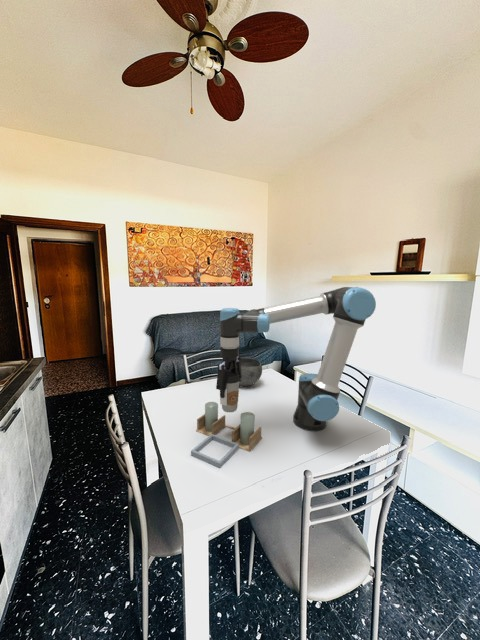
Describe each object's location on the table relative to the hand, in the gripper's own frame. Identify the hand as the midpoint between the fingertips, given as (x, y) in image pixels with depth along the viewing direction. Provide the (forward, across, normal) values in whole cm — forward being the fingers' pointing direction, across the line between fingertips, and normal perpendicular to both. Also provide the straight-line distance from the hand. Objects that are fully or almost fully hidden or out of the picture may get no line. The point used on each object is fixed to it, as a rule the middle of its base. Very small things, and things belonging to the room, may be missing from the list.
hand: (229, 400), depth 109 cm
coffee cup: (+4, 0, 0) cm, 4 cm away
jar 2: (+15, 0, +8) cm, 17 cm away
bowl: (+16, -54, -22) cm, 60 cm away
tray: (+16, +12, +2) cm, 20 cm away
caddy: (+16, 0, 0) cm, 16 cm away
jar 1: (+15, 0, -9) cm, 18 cm away
